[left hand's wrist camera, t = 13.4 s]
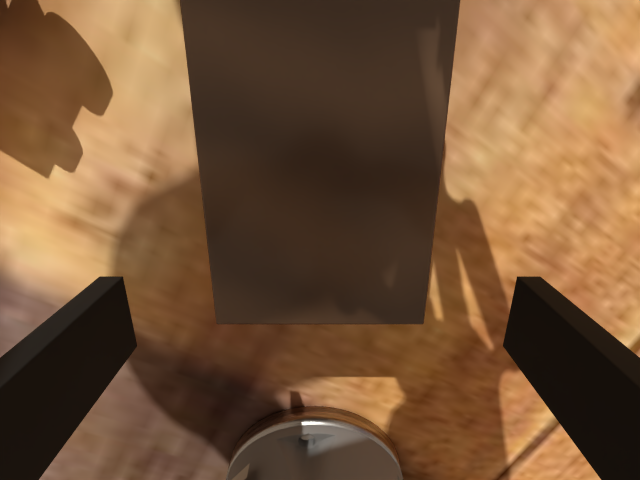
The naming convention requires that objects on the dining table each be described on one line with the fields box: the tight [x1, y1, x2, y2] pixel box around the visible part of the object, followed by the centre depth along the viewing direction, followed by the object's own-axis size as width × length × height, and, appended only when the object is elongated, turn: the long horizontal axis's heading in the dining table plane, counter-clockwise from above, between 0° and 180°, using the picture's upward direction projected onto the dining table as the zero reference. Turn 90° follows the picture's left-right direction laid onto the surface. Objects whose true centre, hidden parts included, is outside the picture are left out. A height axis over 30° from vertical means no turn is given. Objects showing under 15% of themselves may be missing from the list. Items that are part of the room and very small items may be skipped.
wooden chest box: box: [180, 0, 460, 324], centre depth 20 cm, size 18×11×8 cm, turn 0°
